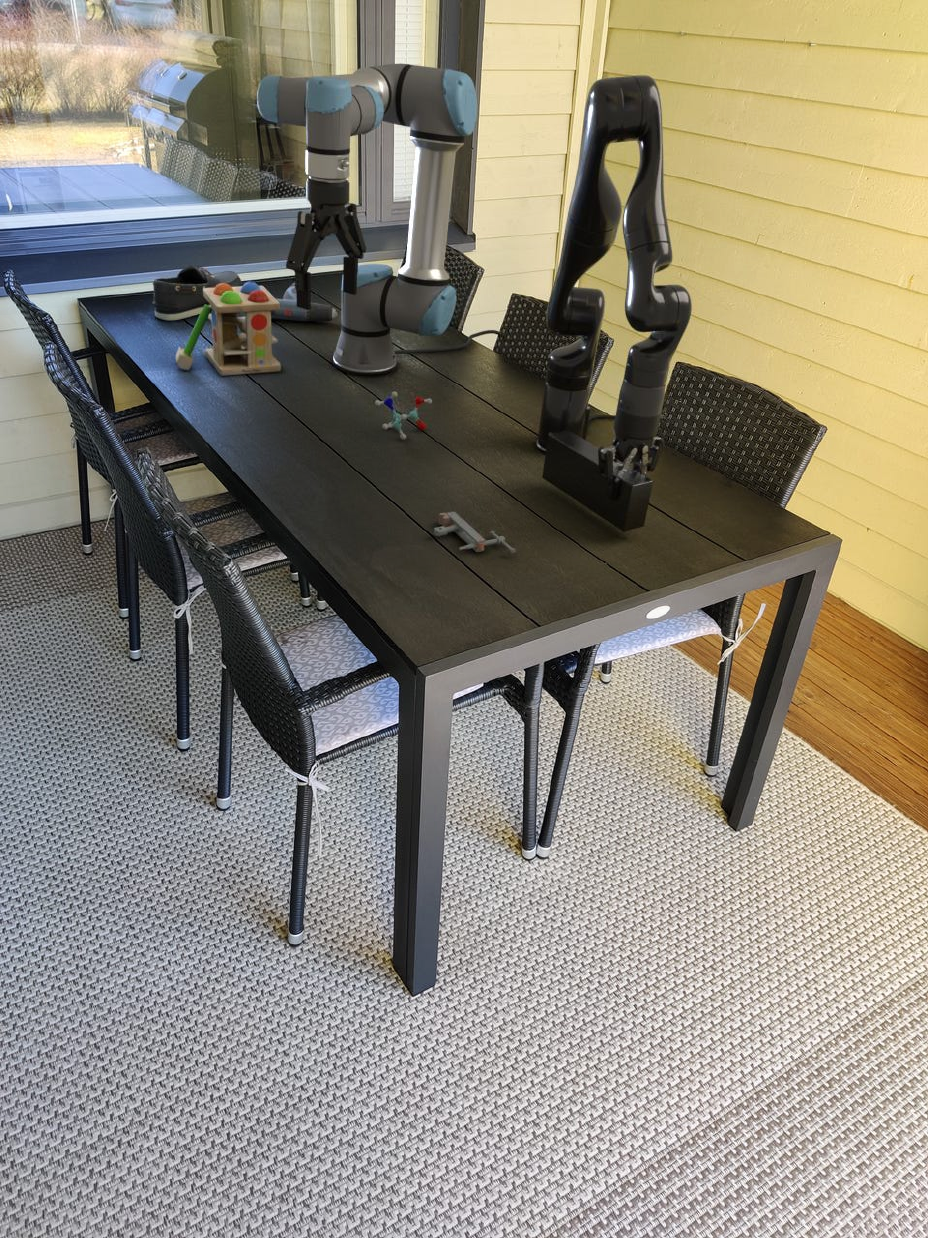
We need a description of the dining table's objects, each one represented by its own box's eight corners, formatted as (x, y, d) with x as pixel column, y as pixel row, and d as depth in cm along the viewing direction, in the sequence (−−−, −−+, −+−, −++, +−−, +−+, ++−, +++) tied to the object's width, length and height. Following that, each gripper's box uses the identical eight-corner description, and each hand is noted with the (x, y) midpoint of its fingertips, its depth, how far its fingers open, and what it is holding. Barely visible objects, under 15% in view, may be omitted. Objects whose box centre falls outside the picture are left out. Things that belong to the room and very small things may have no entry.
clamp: (424, 515, 172) (473, 506, 177) (423, 526, 174) (472, 516, 178) (467, 556, 162) (517, 545, 167) (465, 568, 163) (516, 556, 168)
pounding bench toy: (183, 379, 220) (176, 299, 210) (169, 357, 231) (162, 280, 221) (282, 371, 230) (280, 294, 220) (264, 350, 240) (262, 276, 230)
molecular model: (422, 431, 199) (406, 384, 197) (382, 446, 202) (366, 399, 201) (442, 428, 209) (426, 382, 208) (403, 442, 213) (388, 397, 212)
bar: (541, 477, 189) (548, 433, 184) (561, 473, 191) (568, 429, 186) (623, 532, 173) (633, 485, 168) (644, 526, 176) (653, 480, 171)
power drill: (344, 304, 276) (335, 327, 259) (277, 298, 275) (264, 321, 258) (344, 285, 273) (335, 306, 256) (277, 279, 272) (264, 300, 255)
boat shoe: (260, 299, 274) (258, 261, 269) (172, 322, 251) (168, 281, 245) (227, 291, 280) (224, 253, 275) (137, 313, 256) (132, 272, 251)
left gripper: (297, 190, 161) (299, 319, 173) (387, 173, 179) (383, 291, 191) (263, 182, 164) (266, 309, 176) (354, 166, 182) (352, 282, 194)
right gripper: (623, 420, 159) (606, 513, 169) (685, 407, 167) (666, 497, 176) (593, 404, 164) (578, 495, 174) (655, 392, 172) (637, 480, 181)
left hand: (327, 300), depth 183 cm, fingers open, 13 cm apart
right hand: (622, 496), depth 175 cm, fingers closed on bar, 5 cm apart
